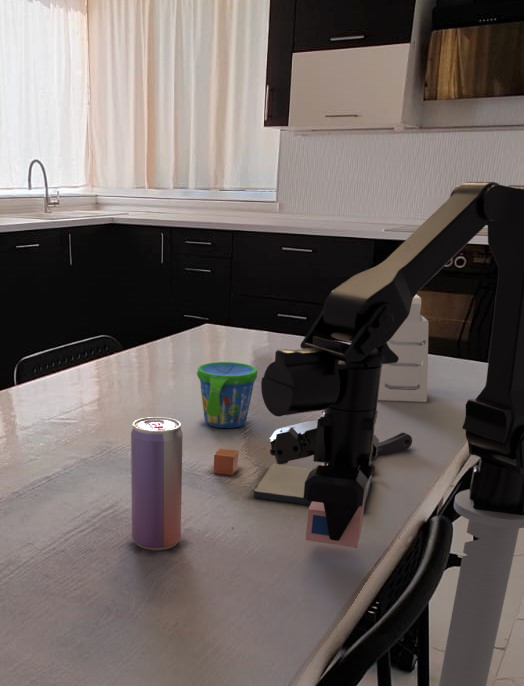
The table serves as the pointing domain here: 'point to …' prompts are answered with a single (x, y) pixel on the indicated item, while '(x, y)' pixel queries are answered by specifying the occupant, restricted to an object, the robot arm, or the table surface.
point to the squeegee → (394, 445)
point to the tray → (287, 484)
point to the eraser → (319, 528)
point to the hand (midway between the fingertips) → (336, 532)
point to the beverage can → (156, 482)
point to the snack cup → (226, 392)
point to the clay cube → (225, 461)
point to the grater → (407, 360)
